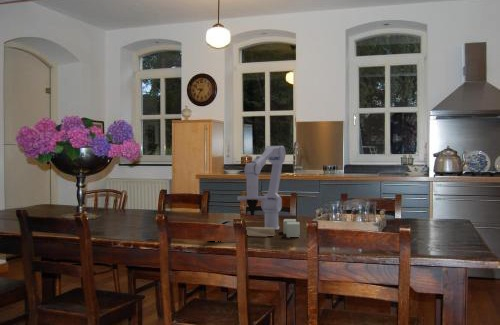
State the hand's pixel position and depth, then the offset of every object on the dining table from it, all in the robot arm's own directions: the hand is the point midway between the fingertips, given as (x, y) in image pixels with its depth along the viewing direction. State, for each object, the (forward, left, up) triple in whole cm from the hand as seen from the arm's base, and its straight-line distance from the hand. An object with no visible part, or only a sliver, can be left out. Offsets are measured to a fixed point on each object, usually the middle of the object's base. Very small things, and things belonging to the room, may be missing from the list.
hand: (252, 215), depth 238 cm
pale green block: (-7, +18, -9) cm, 21 cm away
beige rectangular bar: (+3, +4, -10) cm, 11 cm away
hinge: (+16, -12, -10) cm, 23 cm away
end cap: (+3, +20, -9) cm, 22 cm away
